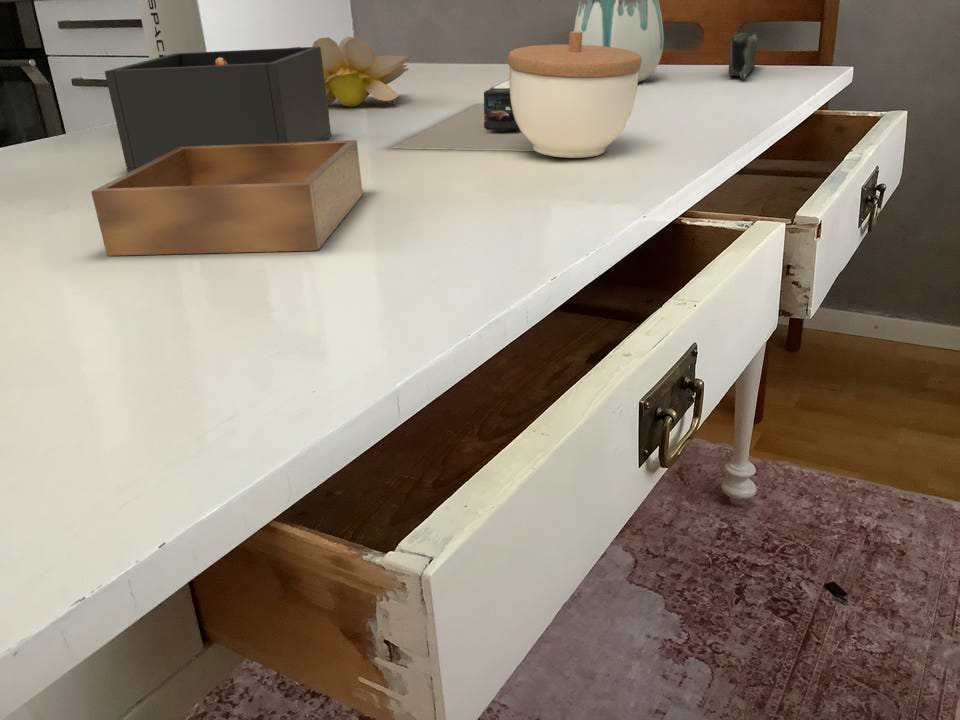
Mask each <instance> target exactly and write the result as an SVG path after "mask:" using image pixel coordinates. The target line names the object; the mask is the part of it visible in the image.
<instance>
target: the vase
mask: <svg viewBox="0 0 960 720" xmlns="http://www.w3.org/2000/svg"><path fill="white" fill-rule="evenodd" d="M662 16H663V15H662V11H661V5H660V0H579V2H578V6H577V10H576V16H575V21H574V25H573V26H574V27H573V31H580V32H583V33H582V45H591V46H603V47H613V48H619V49H625V50H629V51H633V52H636V53H637V54H639V55H640V56H641V58H642V59H641V68H640V70H639V74H638V83H640V82H643V81H645V80H647V79H648V78H649V77H650V76H652V74H654V72H655V70H656V69H657V68H658V65H659V63H660V62H661V59H662V55H663V51H664V45H665V44H664V43H665V39H664V38H665V34H664V24H663V17H662Z"/></svg>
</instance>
